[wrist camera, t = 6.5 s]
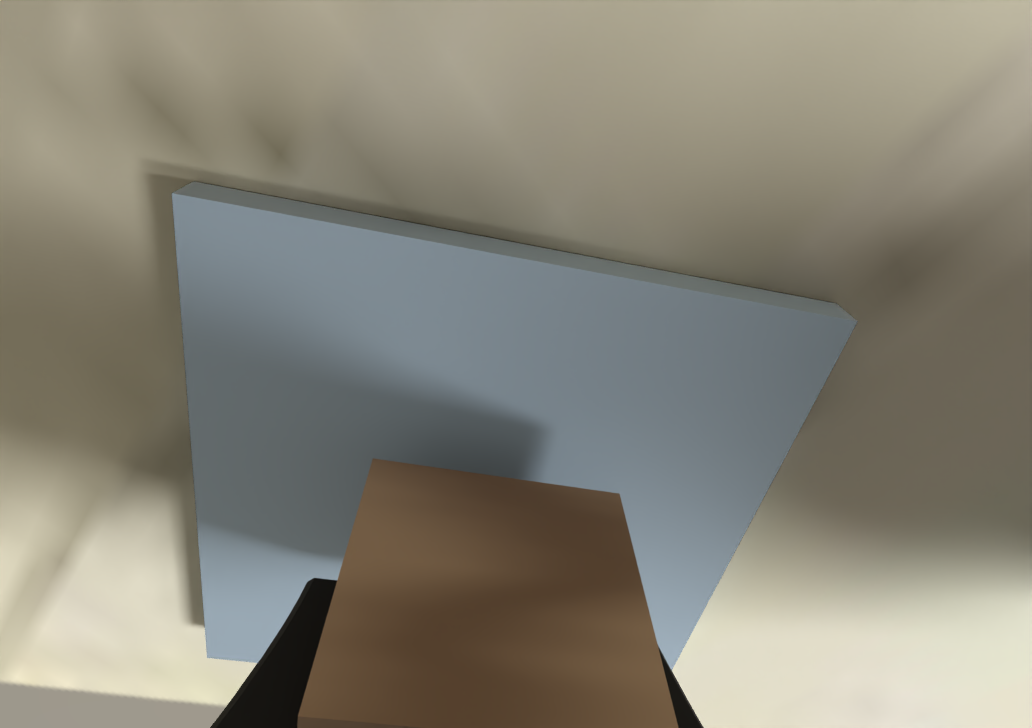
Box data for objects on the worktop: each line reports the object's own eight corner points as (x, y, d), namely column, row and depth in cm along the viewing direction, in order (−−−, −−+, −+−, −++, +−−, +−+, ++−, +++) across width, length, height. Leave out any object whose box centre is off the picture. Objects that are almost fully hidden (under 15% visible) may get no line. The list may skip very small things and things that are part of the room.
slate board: (836, 303, 12) (857, 321, 11) (648, 675, 18) (654, 702, 17) (194, 181, 10) (172, 193, 10) (219, 629, 16) (207, 657, 15)
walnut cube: (619, 493, 11) (684, 751, 7) (561, 647, 13) (587, 909, 9) (373, 458, 11) (297, 716, 7) (354, 624, 13) (290, 892, 9)
